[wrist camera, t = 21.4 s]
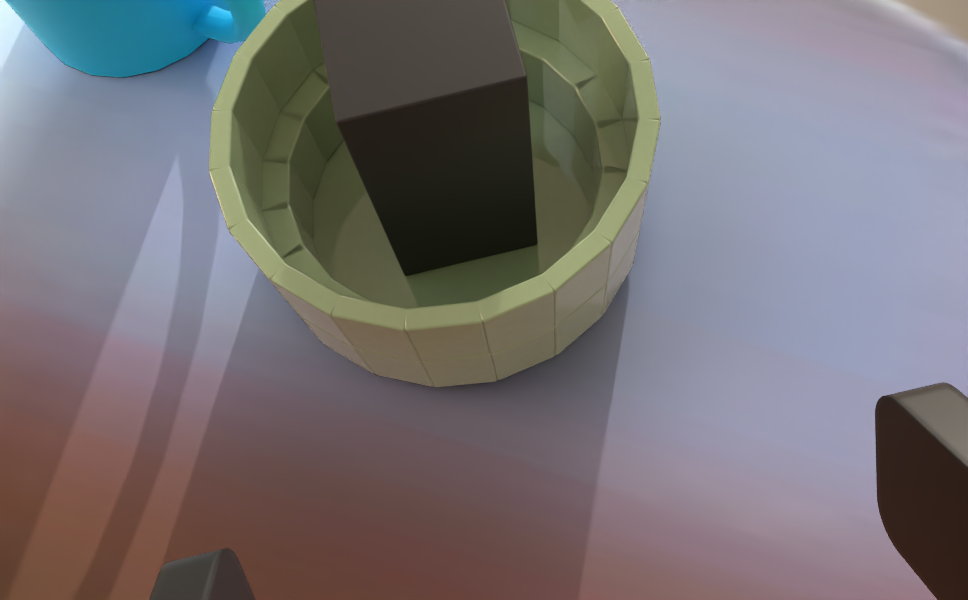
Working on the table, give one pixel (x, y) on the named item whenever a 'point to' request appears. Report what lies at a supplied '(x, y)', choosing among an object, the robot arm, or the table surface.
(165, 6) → the mug
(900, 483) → the robot arm
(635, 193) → the bowl
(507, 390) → the table surface
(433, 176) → the dark rectangular block
